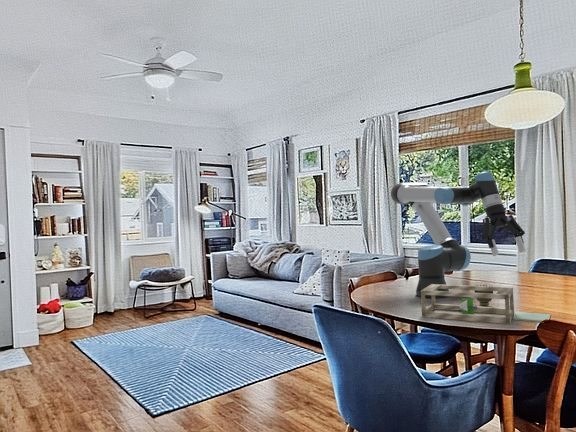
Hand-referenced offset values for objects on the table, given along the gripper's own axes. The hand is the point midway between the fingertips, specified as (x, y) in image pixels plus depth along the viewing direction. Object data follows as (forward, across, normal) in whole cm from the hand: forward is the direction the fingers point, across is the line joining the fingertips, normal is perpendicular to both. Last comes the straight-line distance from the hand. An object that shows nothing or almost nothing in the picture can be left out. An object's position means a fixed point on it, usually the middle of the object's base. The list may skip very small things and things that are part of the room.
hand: (509, 253), depth 181 cm
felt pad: (+26, -13, -14) cm, 33 cm away
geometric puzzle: (+22, -30, -2) cm, 37 cm away
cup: (+19, -13, +9) cm, 24 cm away
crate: (+22, -30, -2) cm, 37 cm away
